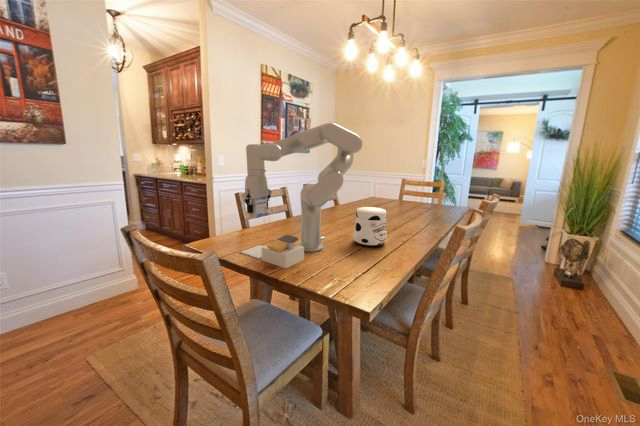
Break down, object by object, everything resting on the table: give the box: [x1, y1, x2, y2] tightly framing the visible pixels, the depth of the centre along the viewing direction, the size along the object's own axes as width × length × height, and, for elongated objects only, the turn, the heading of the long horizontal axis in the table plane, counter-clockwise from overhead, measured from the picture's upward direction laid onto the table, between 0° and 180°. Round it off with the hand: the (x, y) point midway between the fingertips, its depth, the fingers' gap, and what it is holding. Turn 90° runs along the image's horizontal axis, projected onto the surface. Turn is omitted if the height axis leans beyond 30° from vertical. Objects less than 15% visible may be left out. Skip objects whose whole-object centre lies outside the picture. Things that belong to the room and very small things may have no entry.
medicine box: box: [248, 197, 268, 219], centre depth 128 cm, size 8×4×9 cm, turn 153°
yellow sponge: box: [267, 234, 299, 252], centre depth 122 cm, size 12×7×2 cm, turn 145°
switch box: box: [261, 238, 305, 269], centre depth 123 cm, size 12×14×9 cm
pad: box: [240, 244, 264, 260], centre depth 132 cm, size 12×12×1 cm
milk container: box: [352, 206, 388, 247], centre depth 146 cm, size 17×17×18 cm
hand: (258, 210), depth 128 cm, fingers closed on medicine box, 8 cm apart
